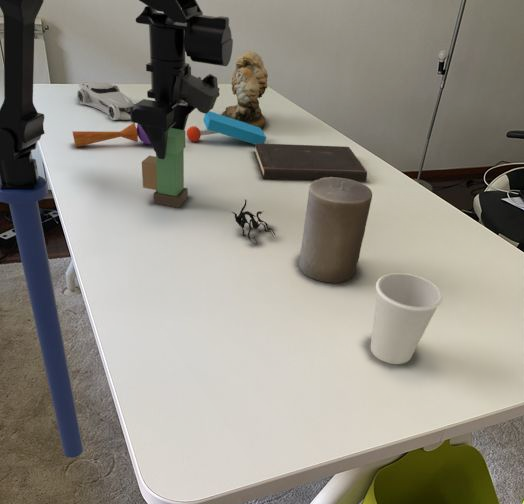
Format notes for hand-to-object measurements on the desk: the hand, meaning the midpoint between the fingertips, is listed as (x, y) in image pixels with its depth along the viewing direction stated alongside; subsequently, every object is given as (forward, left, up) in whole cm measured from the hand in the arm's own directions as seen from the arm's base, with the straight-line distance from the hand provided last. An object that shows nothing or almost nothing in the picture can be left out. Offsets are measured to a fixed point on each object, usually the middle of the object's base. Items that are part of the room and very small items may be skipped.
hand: (169, 152), depth 100 cm
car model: (-13, +59, -10) cm, 61 cm away
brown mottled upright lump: (+22, +50, -10) cm, 55 cm away
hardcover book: (+32, +18, -10) cm, 38 cm away
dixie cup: (+27, -48, -10) cm, 56 cm away
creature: (+14, -14, -10) cm, 22 cm away
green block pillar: (-4, +2, -7) cm, 9 cm away
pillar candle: (+24, -26, -10) cm, 37 cm away
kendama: (-10, +30, -10) cm, 33 cm away
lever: (+15, +34, -10) cm, 38 cm away
